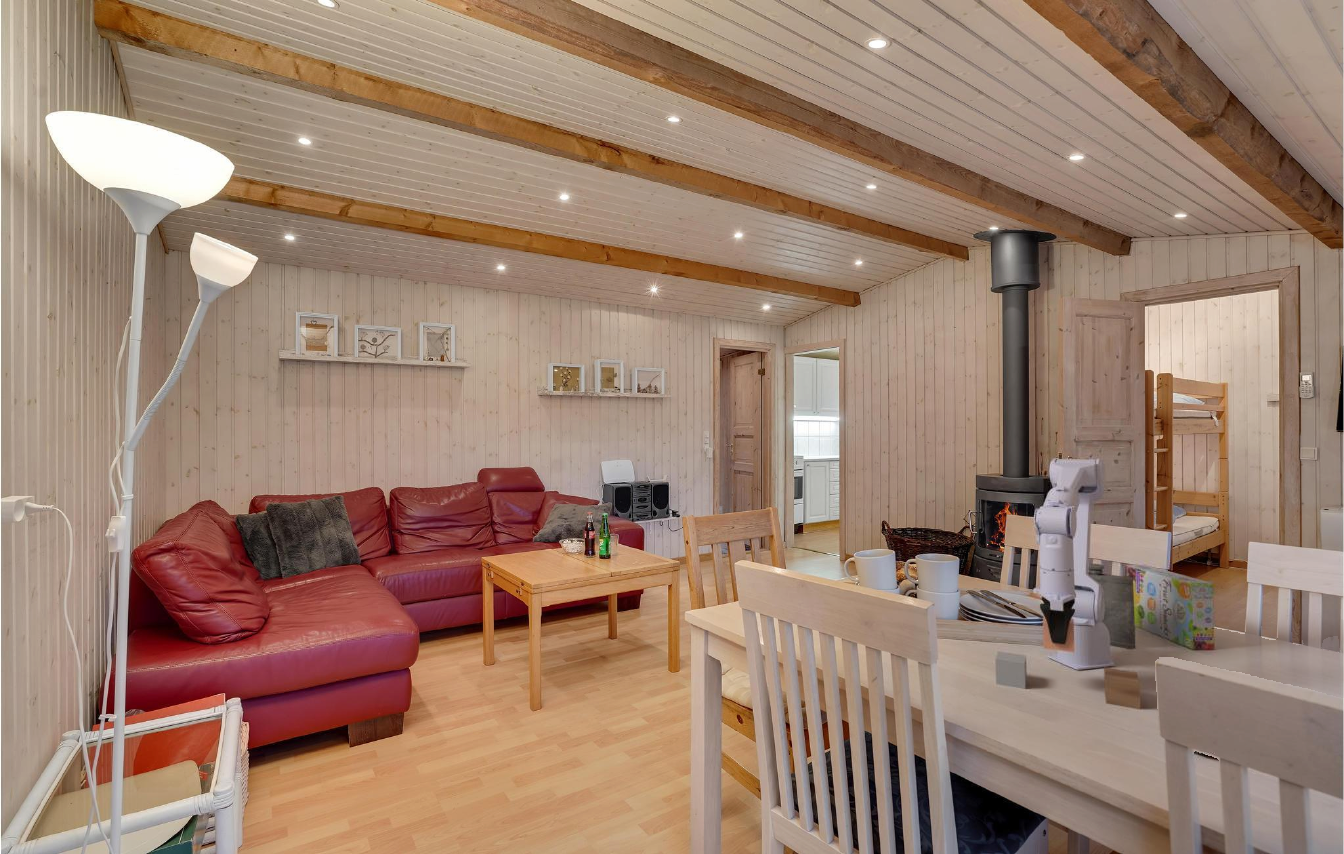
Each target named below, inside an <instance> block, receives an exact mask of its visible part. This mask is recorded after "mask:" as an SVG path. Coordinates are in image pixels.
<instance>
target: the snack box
mask: <svg viewBox="0 0 1344 854" xmlns="http://www.w3.org/2000/svg"><path fill="white" fill-rule="evenodd" d="M1124 568H1125V569H1124V571H1125V573H1124V576H1125V577H1131V578H1133V590H1134V619H1135V627H1137V628H1139V629H1143V630H1144V631H1147V632H1149V633H1152V634H1154V635H1157V636H1159V637H1161V638H1164V639H1166V640H1169V641H1171V642H1173V643H1176V644H1179V645H1181V646H1184V647H1185V648H1188V649H1191V650H1203V651H1204V650H1207V651H1208V650H1209V651H1213V650H1215V608H1214V607H1215V602H1214V601H1215V599H1214V597H1215V596H1214V595H1215V593H1214V590H1215V589H1214V587H1215V586H1214V582H1211V581H1210V582H1209V581H1206V580H1202V579H1199V578H1195V577H1191V576H1188V575H1185V574H1179V573H1176V572H1173V571H1169V570H1164V569H1161V568H1157V567H1154V566H1152V565H1151V566H1150V565H1146V564H1125V566H1124Z"/></svg>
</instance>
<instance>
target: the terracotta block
mask: <svg viewBox="0 0 1344 854" xmlns="http://www.w3.org/2000/svg"><path fill="white" fill-rule="evenodd" d="M1042 634H1043V635H1042V638H1043V639H1042V645H1043V649H1047V650H1053V651H1054V650H1055V651H1057V650H1060V651H1067V652H1074V653H1075V648H1074V619H1071V620H1070V623H1069V627H1068V632H1067V639H1066V642H1065V644H1057V643H1052V640H1051V637H1050V633H1049V628H1048V624H1047V621H1046V618H1045V616H1044V615H1043V618H1042Z"/></svg>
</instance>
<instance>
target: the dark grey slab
mask: <svg viewBox="0 0 1344 854" xmlns="http://www.w3.org/2000/svg"><path fill="white" fill-rule="evenodd" d="M1104 569H1105V566H1104V565H1103V564H1099V563H1089V576H1090V577H1091V578H1093V579H1094V580H1095V581H1097V582H1098V583H1099V584H1100V585H1101V586H1102V588H1103V591H1104V604H1105V611H1104V619H1103V620H1102V621H1101V622H1102V623H1104V624H1105V626H1106V627H1107V629H1108V631H1109V635H1110V647H1116V648H1120V649H1128V650H1135V649H1136V626H1135V619H1134V590H1133V578H1131V577H1125V575H1124V576H1123V575H1117V574H1116V575H1115V574H1114V575H1113V574H1108V573H1107V574H1106V573H1104V571H1103V570H1104ZM1075 590H1076V589H1075ZM1083 591H1084V590H1083Z"/></svg>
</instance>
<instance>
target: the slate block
mask: <svg viewBox="0 0 1344 854" xmlns="http://www.w3.org/2000/svg"><path fill="white" fill-rule="evenodd" d="M1027 670H1028V669H1027V655H1025V654H1018V653H1011V652H1005V651H997V653H996V656H995V684H996V685H1000V686H1005V687H1009V688H1017V689H1022V690H1026V687H1027V680H1028V676H1027V673H1028V672H1027Z"/></svg>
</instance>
